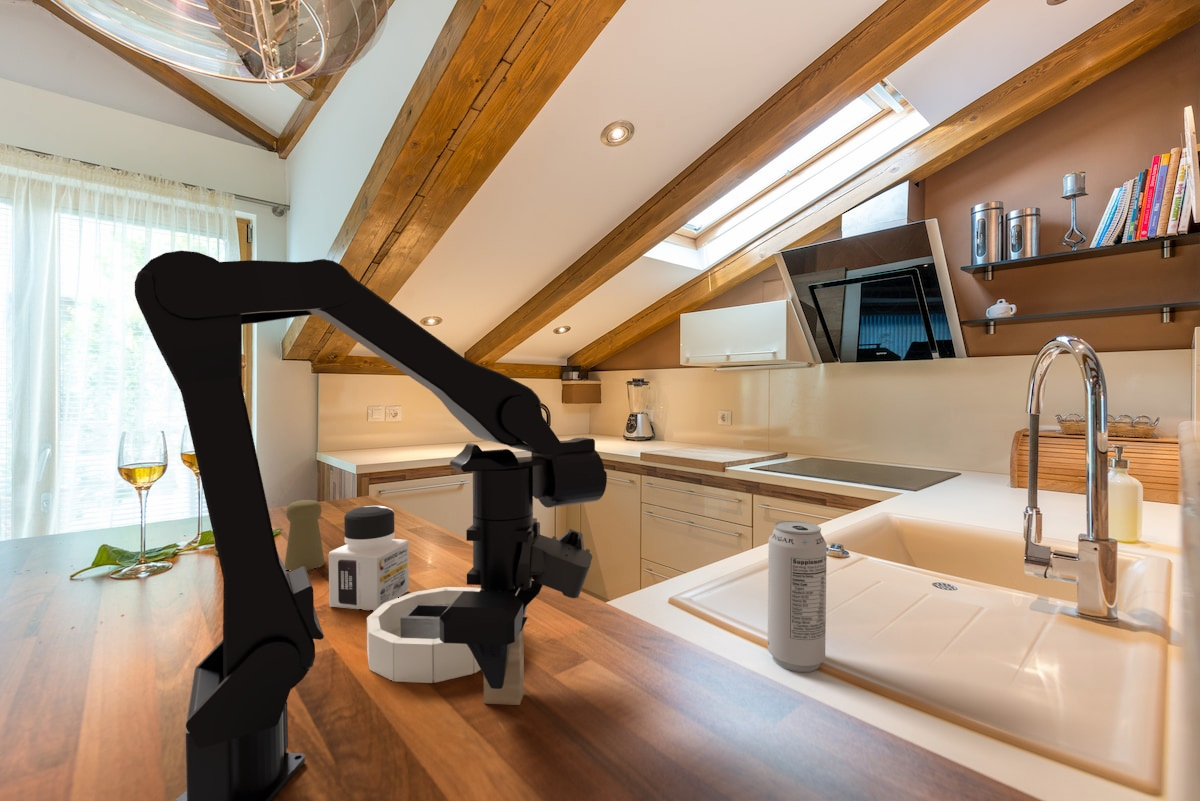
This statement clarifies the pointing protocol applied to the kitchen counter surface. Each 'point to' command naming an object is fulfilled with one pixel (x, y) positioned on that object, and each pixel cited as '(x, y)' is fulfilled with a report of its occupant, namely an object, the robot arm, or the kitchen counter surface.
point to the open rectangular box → (422, 621)
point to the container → (368, 561)
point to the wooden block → (510, 677)
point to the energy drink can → (797, 595)
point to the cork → (304, 536)
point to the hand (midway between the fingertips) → (503, 673)
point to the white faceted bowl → (415, 643)
